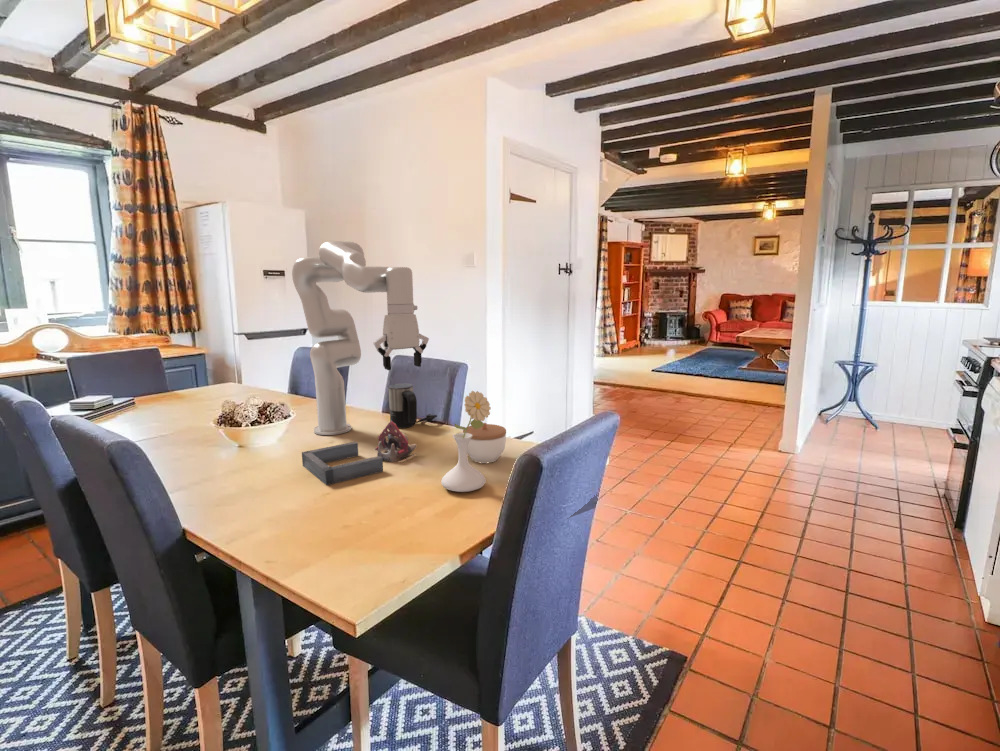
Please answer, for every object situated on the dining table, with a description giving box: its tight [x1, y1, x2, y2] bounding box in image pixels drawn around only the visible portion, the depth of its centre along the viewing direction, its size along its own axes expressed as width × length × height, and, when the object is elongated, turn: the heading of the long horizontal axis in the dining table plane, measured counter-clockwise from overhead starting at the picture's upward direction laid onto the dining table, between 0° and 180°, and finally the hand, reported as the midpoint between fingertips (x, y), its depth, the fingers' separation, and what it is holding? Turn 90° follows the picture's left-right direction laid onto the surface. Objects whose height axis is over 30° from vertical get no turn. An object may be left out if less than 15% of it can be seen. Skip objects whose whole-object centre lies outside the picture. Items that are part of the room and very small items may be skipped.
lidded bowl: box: [462, 422, 507, 464], centre depth 158 cm, size 13×13×11 cm
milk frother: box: [387, 382, 438, 429], centre depth 196 cm, size 14×16×15 cm
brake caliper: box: [374, 421, 418, 463], centre depth 162 cm, size 11×11×12 cm
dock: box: [301, 441, 384, 486], centre depth 152 cm, size 19×16×4 cm
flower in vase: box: [440, 390, 491, 493], centre depth 136 cm, size 13×11×25 cm
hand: (402, 367), depth 161 cm, fingers open, 9 cm apart
